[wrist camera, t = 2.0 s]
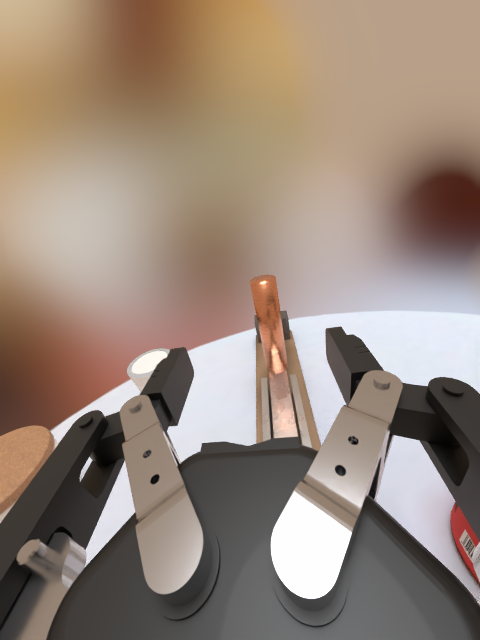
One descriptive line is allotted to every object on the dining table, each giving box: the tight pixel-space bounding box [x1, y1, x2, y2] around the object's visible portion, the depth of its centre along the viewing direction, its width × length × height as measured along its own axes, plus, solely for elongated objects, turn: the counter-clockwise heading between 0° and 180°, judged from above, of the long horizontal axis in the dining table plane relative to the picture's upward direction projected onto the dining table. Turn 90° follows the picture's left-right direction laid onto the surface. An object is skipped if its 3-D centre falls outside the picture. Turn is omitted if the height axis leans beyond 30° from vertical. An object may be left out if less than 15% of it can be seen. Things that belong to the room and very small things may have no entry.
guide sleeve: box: [261, 374, 312, 448], centre depth 26 cm, size 5×12×3 cm, turn 176°
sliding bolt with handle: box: [250, 275, 298, 438], centre depth 27 cm, size 3×18×16 cm, turn 176°
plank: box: [256, 330, 321, 451], centre depth 34 cm, size 7×28×1 cm, turn 176°
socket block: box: [255, 311, 291, 343], centre depth 44 cm, size 6×3×4 cm, turn 86°
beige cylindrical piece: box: [127, 348, 170, 392], centre depth 37 cm, size 7×7×7 cm
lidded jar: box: [0, 426, 59, 523], centre depth 24 cm, size 11×11×9 cm
